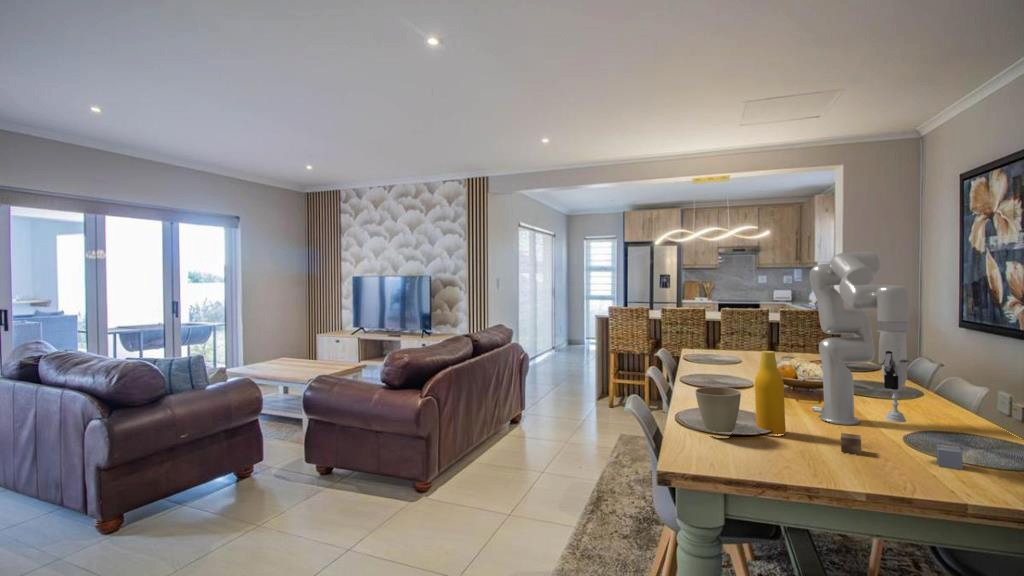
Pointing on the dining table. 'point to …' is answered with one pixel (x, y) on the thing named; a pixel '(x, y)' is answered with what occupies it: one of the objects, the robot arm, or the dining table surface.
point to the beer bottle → (769, 395)
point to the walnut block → (851, 443)
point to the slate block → (949, 457)
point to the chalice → (902, 377)
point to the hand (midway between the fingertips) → (894, 386)
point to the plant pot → (718, 407)
